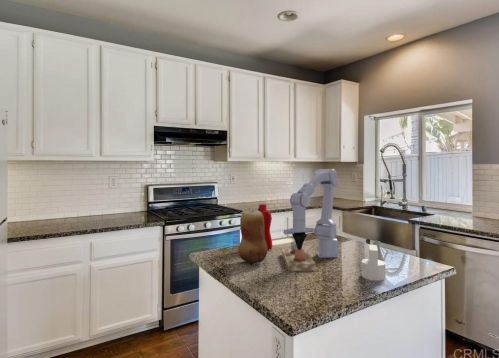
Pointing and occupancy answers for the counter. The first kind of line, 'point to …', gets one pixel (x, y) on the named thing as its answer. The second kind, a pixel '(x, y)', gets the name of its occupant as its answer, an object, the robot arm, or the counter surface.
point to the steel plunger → (293, 247)
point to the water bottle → (266, 224)
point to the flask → (379, 250)
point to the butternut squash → (252, 237)
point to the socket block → (298, 265)
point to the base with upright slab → (373, 265)
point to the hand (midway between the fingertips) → (299, 249)
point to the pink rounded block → (299, 254)
